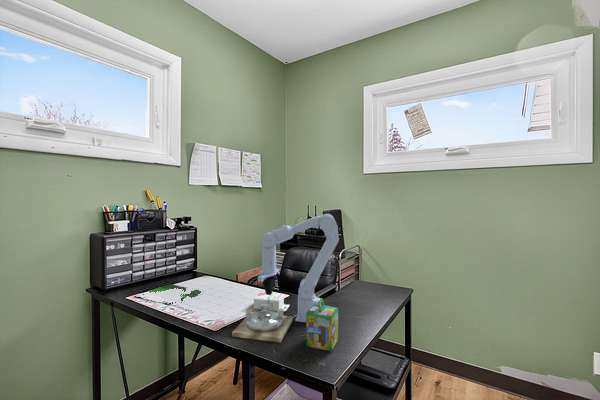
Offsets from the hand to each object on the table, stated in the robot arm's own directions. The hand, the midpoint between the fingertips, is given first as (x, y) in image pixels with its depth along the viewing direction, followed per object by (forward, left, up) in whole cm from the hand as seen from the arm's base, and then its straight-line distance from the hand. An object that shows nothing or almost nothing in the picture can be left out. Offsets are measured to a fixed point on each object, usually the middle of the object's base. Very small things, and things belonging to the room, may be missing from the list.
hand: (268, 294), depth 118 cm
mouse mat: (+56, -14, -10) cm, 59 cm away
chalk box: (-25, +16, -10) cm, 31 cm away
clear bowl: (-2, +10, -8) cm, 13 cm away
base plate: (-2, +10, -9) cm, 14 cm away
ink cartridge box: (+9, -10, -7) cm, 15 cm away
